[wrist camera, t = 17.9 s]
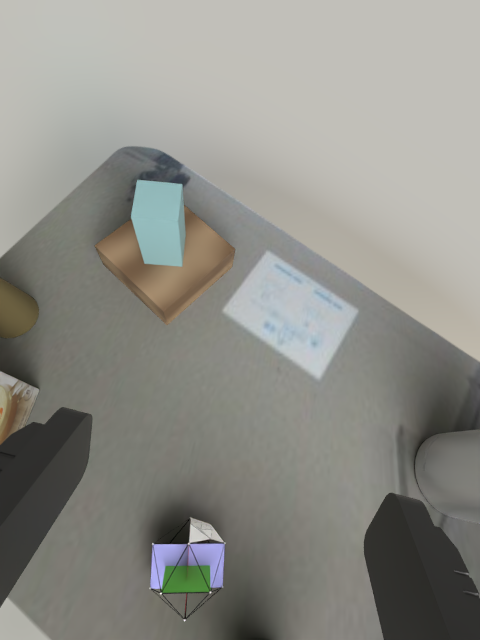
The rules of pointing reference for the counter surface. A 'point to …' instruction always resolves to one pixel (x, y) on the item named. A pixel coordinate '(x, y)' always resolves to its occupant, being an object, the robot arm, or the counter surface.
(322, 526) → the counter surface
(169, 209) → the teal block
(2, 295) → the cork
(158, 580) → the geometric puzzle
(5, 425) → the coffee box
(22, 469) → the robot arm
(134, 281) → the walnut block
